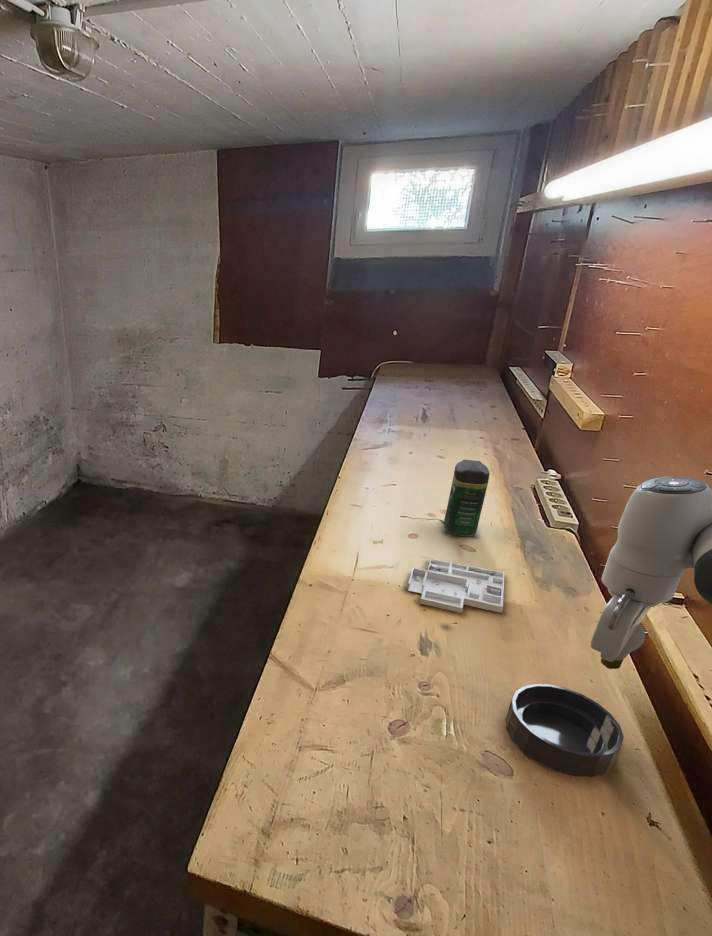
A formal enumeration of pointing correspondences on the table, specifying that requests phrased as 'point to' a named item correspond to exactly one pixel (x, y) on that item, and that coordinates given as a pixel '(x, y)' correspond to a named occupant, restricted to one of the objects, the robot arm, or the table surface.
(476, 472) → the coffee jar
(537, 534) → the table surface
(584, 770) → the bowl
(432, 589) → the floor plan model
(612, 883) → the table surface
